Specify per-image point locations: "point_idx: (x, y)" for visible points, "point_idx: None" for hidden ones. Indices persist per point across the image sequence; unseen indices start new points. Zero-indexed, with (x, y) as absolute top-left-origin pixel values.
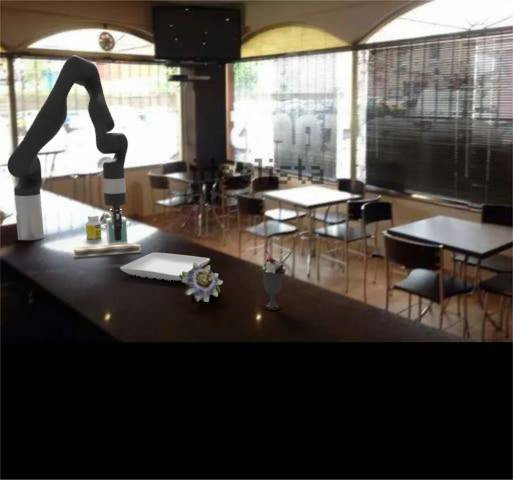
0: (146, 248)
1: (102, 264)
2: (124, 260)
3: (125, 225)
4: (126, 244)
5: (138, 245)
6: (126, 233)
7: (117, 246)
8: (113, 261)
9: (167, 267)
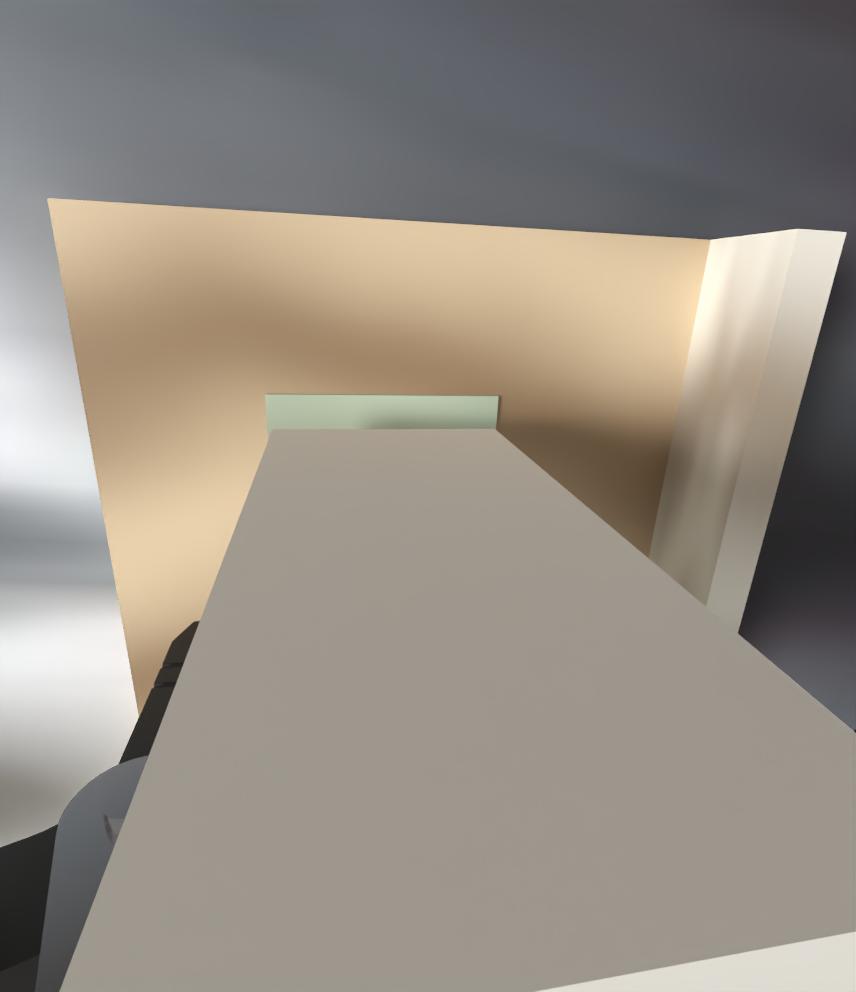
0: (349, 36)
1: (847, 685)
2: (842, 487)
3: (730, 662)
4: (149, 394)
5: (834, 271)
6: (573, 510)
7: (713, 607)
8: (812, 595)
9: None
